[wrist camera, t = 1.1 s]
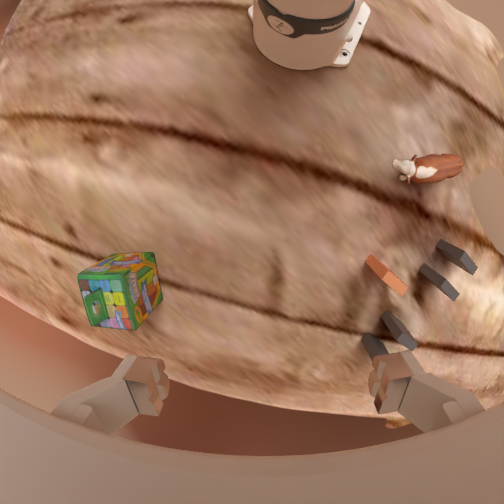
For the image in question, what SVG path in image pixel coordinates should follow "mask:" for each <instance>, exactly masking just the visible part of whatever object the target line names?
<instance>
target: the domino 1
mask: <svg viewBox="0 0 504 504" xmlns="http://www.w3.org/2000/svg"><path fill="white" fill-rule="evenodd" d="M365 262H366V263H367V264H368V265H369V266H370V267H371V269H372V270H373V271H374V272H375V273H376V274H377V275H378V276H379V277H380V278H381V279H382V280H383V281H384V282H385V283H387V284H388V285H389V286H390V287H392V288H393V289H394V290H395V291H396V292H398V293H399V294H400V295H401V296H403V294H404V293H405V292H406V291H407V289H408V287H407V286H406V285H405V284H404V283H403V282H402V281H401V280H400V279H399V278H398V277H397V276H396V275H395V274H394V273H393V272H392V271H390V270H389V269H388V268H387V267H386V266H385V265H383V264H382V263H381V262H380V261H379V260H377V259H376V258H375V257H374V256H373V255H370V256H369V257H368V258H367V260H366V261H365Z"/></svg>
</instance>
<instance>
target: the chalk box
mask: <svg viewBox="0 0 504 504" xmlns="http://www.w3.org/2000/svg"><path fill="white" fill-rule="evenodd" d="M77 278H78V283H79V287H80V291H81V295H82V299H83V303H84V306H85V309H86V313H87V316H88V319H89V322H90V324H91V326H95V327H103V328H114V329H125V330H137V328H138V327H139V326H140V325H141V323H142V322H143V321H144V320H145V319H146V317H147V316H148V315H149V314H150V313H151V312H152V311H153V309H154V308H155V307H156V306H157V305H158V304H159V303H160V302H161V301H162V294H161V289H160V284H159V278H158V273H157V267H156V262H155V256H154V253H153V252H147V253H124V254H112V255H110V256H108V257H107V258H105V259H103V260H101V261H99V262H98V263H96V264H94V265H92V266H91V267H89V268H87V269H85V270H84V271H82V272H80V273H79V274H78V276H77Z"/></svg>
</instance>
